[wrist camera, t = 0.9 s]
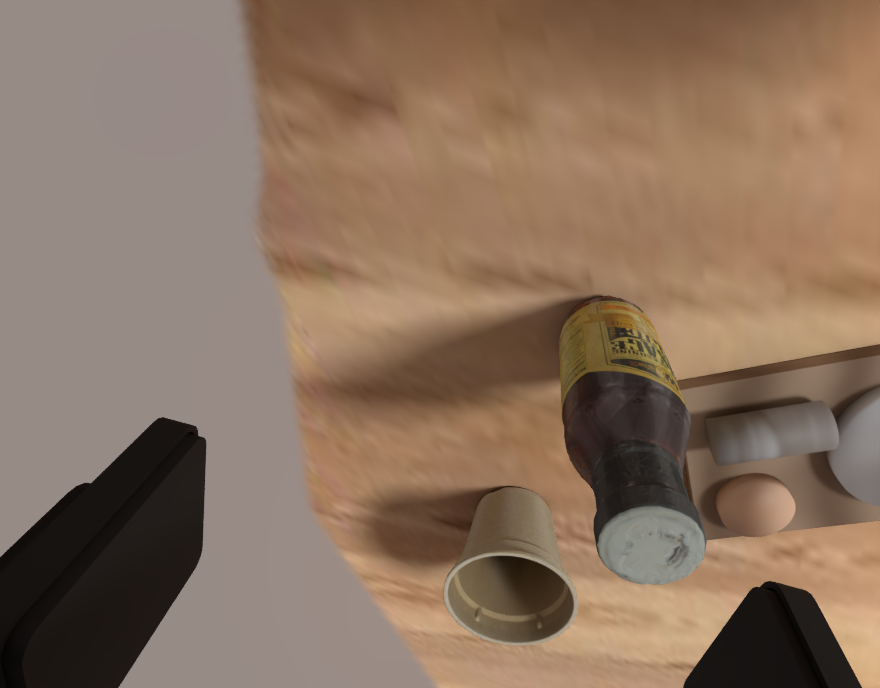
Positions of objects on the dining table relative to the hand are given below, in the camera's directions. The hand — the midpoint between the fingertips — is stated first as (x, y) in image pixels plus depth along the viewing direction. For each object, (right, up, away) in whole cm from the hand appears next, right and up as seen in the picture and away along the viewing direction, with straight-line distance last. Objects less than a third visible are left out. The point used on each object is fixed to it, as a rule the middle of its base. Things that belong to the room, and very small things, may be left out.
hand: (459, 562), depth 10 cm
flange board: (+28, -3, +31) cm, 41 cm away
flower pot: (+6, -10, +38) cm, 40 cm away
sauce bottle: (+11, +5, +30) cm, 32 cm away
